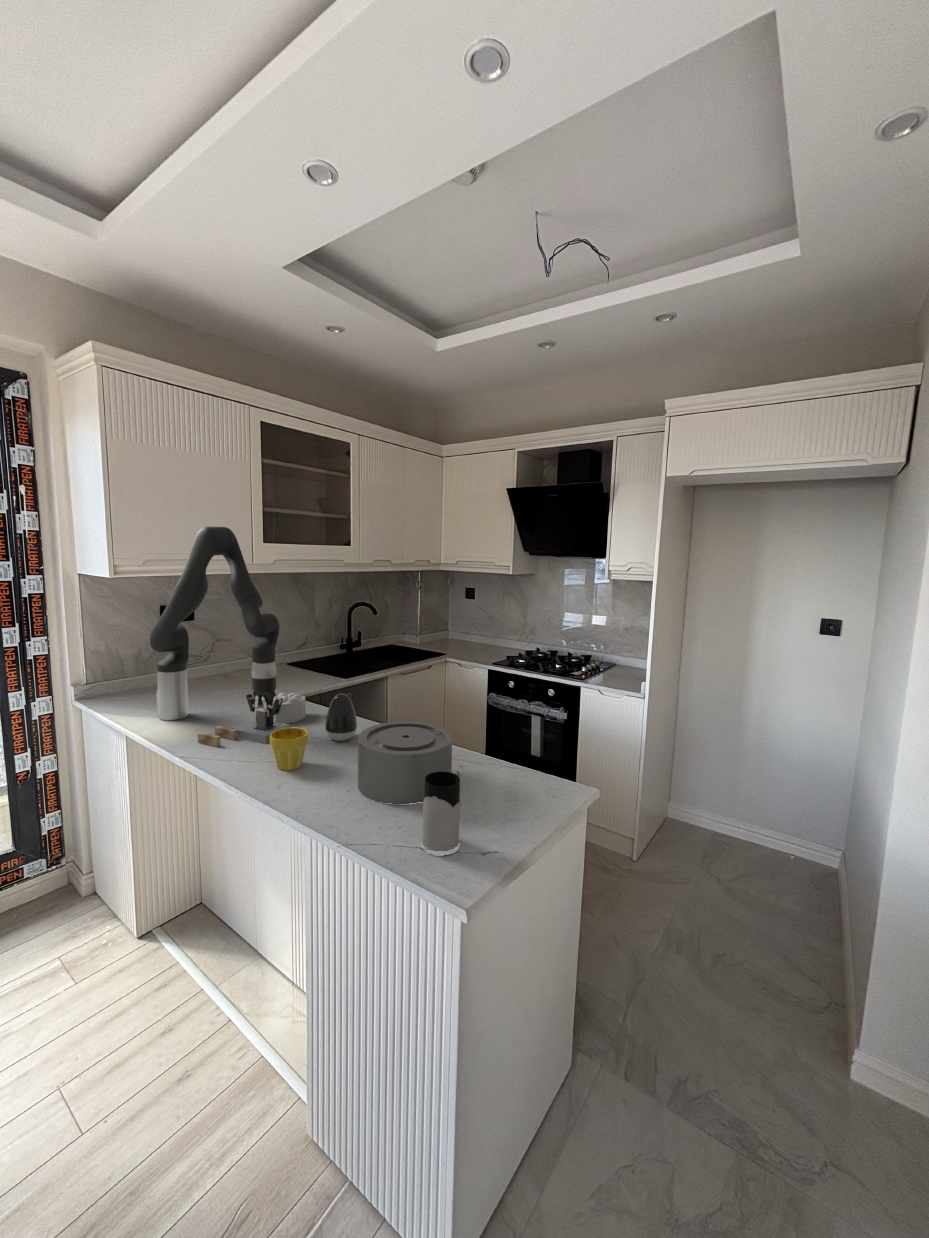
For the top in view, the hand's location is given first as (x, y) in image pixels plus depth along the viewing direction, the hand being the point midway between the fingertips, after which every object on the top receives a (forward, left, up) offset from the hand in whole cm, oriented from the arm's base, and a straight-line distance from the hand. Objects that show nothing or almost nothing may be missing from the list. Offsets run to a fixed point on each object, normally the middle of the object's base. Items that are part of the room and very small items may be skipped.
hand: (264, 725), depth 173 cm
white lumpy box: (-5, +17, -3) cm, 18 cm away
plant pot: (+24, -16, -3) cm, 29 cm away
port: (0, 0, -3) cm, 3 cm away
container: (+59, -11, -4) cm, 60 cm away
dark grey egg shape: (+24, +9, -3) cm, 26 cm away
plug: (0, 0, -2) cm, 2 cm away
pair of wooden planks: (-9, -11, -3) cm, 15 cm away
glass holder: (+80, -31, -3) cm, 86 cm away
